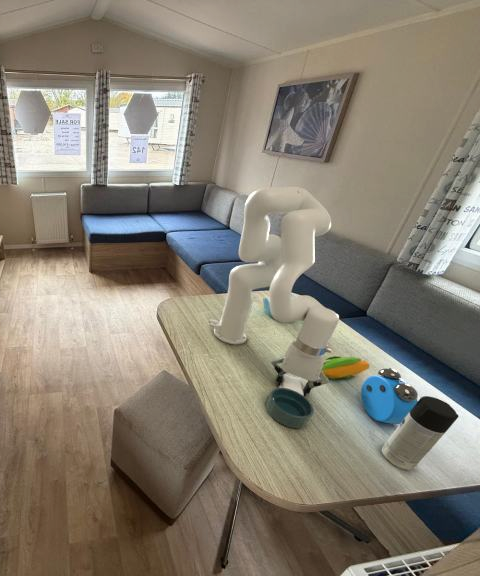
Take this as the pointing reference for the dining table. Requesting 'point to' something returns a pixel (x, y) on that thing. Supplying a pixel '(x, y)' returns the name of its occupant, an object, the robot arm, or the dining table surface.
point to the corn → (343, 367)
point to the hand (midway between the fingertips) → (291, 388)
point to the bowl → (289, 408)
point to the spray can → (419, 432)
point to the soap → (292, 384)
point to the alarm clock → (388, 397)
